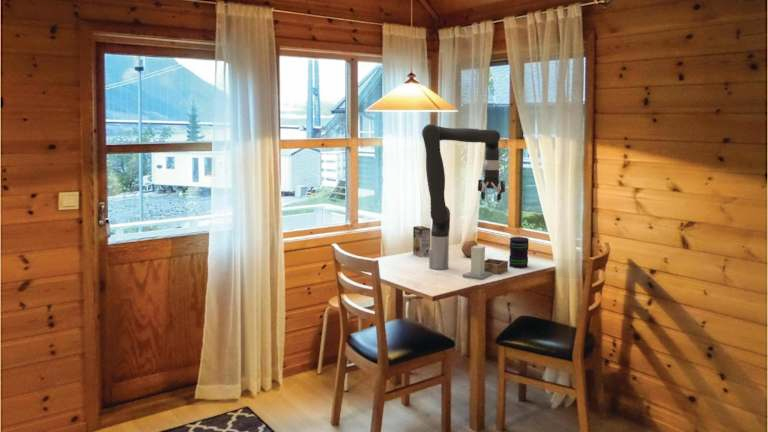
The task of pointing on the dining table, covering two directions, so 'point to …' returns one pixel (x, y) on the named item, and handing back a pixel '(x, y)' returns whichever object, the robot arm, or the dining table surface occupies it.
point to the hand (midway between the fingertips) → (490, 200)
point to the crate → (495, 266)
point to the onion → (468, 248)
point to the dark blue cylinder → (518, 252)
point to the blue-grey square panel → (480, 277)
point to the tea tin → (477, 260)
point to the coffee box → (421, 241)
